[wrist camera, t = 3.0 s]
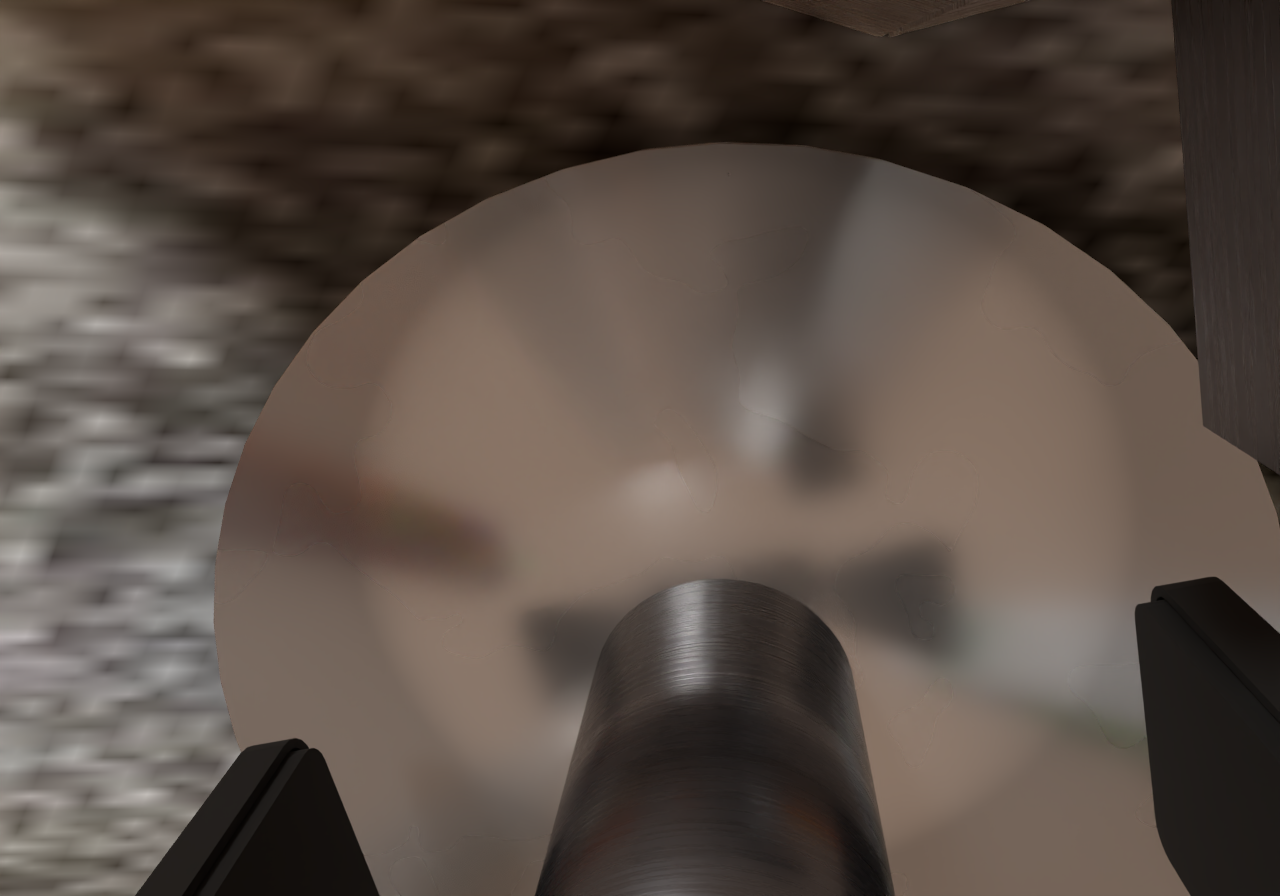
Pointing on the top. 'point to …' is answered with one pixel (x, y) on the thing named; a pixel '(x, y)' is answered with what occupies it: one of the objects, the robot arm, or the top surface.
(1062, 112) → the top surface
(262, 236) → the top surface
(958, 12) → the pot
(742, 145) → the lid
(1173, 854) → the robot arm
